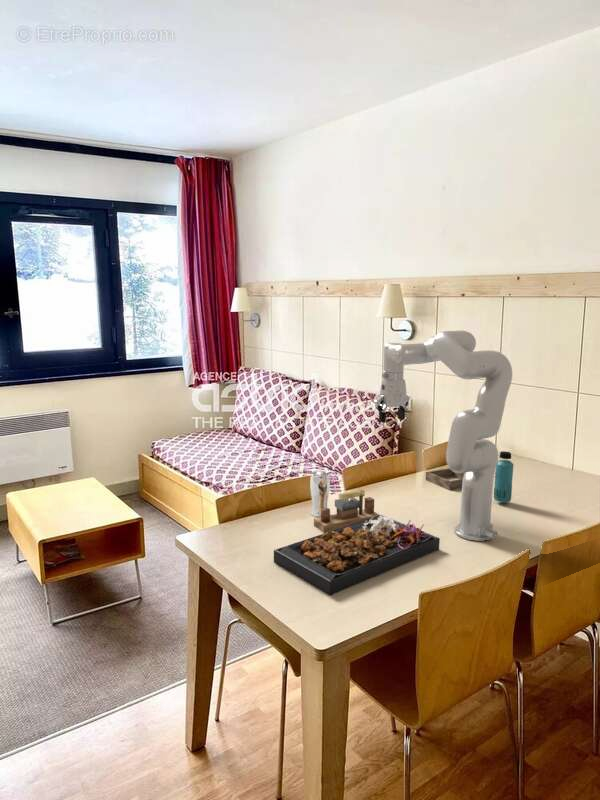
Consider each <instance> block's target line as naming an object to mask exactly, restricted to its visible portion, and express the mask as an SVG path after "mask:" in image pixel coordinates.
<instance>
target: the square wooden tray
mask: <svg viewBox="0 0 600 800" xmlns="http://www.w3.org/2000/svg"><path fill="white" fill-rule="evenodd" d="M463 476H464V473H455V472H453V471H452V470H451V469H450V468H449V467H448V468H441V469H436V470H430V471H425V481H428V482H430V483H432V484H434V485H437V486H439V487H441V488H443V489H446V490H448V491H454V490H458V489H457V488H459V489H462V481H463ZM451 477H454V478H456V479H454V480H449V479H448V478H451ZM453 489H454V490H453Z"/></svg>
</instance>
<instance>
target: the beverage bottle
mask: <svg viewBox="0 0 600 800" xmlns="http://www.w3.org/2000/svg"><path fill="white" fill-rule="evenodd" d="M510 459H512V452H510V451H506V450H504V451H500V452H499V459H498V461H497V465H496V469H495V473H494V482H493V499H494V501H497V502H499V503H510V502H511V500H512V493H513V492H512V490H513V475H514V465H515V464H514V463H513V462H512V461H511V460H510Z"/></svg>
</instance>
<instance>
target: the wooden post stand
mask: <svg viewBox="0 0 600 800" xmlns="http://www.w3.org/2000/svg"><path fill="white" fill-rule="evenodd" d="M358 500H359V501H360V508H355V509H350V510H344V511H342V510H340V509H338V508H337V507H336V513H335V514H331V509H330V508H329V507H327V508H322V509H321V517H315V518H313V527H314V528H317V529H318V530H319V531H321V532H322V534H324V533H327V532H329V531H333V530H336V529H339V528H342V527H345V526H348V525H351V524H355V523H358V522H361V521H364V520H367V519H370V518H372V517H373V516H374V517H376V516H378V515H380V514H379V513H378V512H375V499H374V498H373V497H371V496H370V497H369V496H368V497H364V496H358ZM363 500H364V502H363ZM363 503H364V506H363Z"/></svg>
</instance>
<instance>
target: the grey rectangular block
mask: <svg viewBox="0 0 600 800" xmlns="http://www.w3.org/2000/svg"><path fill="white" fill-rule="evenodd" d="M334 507H335V508H336V509H337V508H338V509H340V510H342V511H344V510H350V509H355V508H358V509H359V508H360V501H359V499H356V497H353V498H347V499H339V498H338V499H334Z"/></svg>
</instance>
